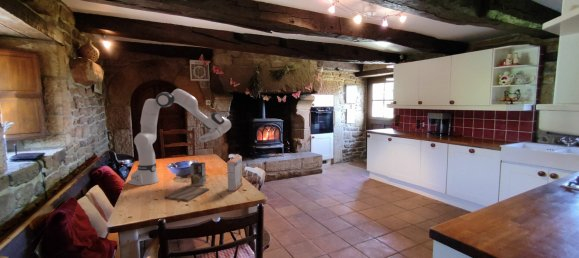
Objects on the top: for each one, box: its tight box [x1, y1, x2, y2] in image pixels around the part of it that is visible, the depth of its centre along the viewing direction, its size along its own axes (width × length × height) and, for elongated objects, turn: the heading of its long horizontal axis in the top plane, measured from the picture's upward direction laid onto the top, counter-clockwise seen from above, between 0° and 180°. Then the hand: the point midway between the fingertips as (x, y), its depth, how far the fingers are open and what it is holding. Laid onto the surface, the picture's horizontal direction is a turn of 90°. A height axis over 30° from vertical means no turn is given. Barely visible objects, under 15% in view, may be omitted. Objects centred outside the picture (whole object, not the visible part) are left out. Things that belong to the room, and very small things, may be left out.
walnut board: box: [164, 185, 210, 202], centre depth 183 cm, size 18×22×1 cm
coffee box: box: [189, 161, 207, 187], centre depth 203 cm, size 9×6×16 cm
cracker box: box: [226, 156, 243, 192], centre depth 195 cm, size 14×6×21 cm, turn 170°
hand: (201, 142), depth 204 cm, fingers open, 8 cm apart
